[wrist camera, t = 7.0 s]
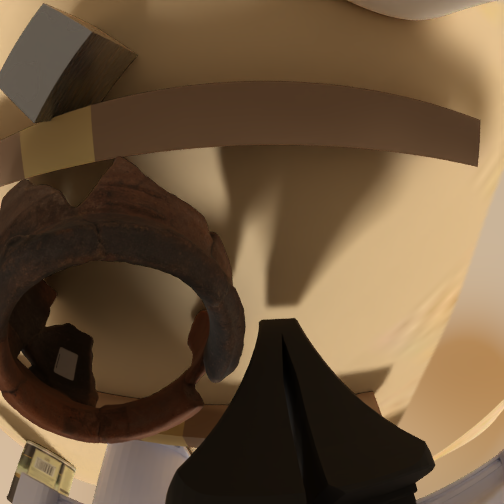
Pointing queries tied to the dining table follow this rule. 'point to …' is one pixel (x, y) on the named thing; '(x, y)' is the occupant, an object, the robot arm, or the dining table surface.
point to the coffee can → (43, 469)
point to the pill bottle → (417, 7)
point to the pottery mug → (80, 344)
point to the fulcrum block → (61, 65)
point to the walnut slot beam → (235, 134)
